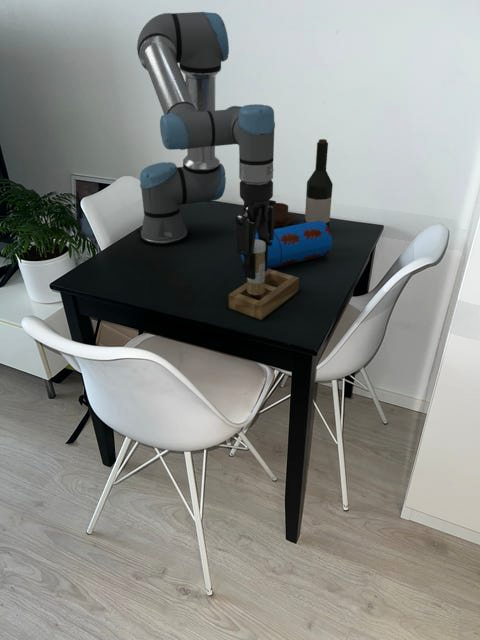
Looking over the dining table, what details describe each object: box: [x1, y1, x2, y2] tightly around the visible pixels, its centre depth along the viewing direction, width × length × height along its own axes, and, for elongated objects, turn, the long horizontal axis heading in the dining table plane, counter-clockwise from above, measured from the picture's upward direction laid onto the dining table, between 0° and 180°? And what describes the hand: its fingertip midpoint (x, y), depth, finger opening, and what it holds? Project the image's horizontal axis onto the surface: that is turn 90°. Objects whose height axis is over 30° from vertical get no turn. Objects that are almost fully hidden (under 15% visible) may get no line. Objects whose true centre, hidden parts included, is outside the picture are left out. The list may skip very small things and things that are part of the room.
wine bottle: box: [304, 138, 334, 229], centre depth 164 cm, size 8×8×30 cm
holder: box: [228, 268, 300, 321], centre depth 133 cm, size 10×18×4 cm, turn 144°
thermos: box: [240, 221, 333, 269], centre depth 149 cm, size 11×11×25 cm
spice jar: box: [246, 239, 266, 295], centre depth 125 cm, size 5×5×13 cm
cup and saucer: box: [269, 202, 295, 228], centre depth 177 cm, size 12×12×6 cm
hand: (256, 273), depth 126 cm, fingers closed on spice jar, 5 cm apart
